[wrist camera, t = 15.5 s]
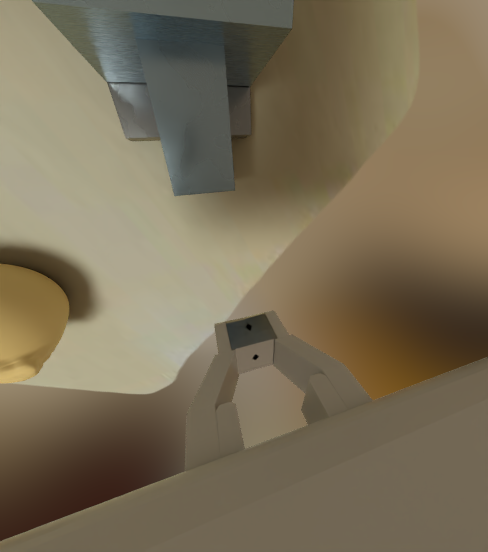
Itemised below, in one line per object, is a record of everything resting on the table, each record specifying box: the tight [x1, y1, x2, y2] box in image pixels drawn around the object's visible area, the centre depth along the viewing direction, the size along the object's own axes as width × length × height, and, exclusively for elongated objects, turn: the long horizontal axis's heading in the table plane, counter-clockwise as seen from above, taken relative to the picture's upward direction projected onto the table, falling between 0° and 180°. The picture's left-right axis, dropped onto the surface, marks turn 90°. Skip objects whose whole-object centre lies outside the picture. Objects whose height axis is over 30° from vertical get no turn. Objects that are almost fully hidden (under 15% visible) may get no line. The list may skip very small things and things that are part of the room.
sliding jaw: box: [32, 0, 294, 196], centre depth 13 cm, size 11×12×8 cm
